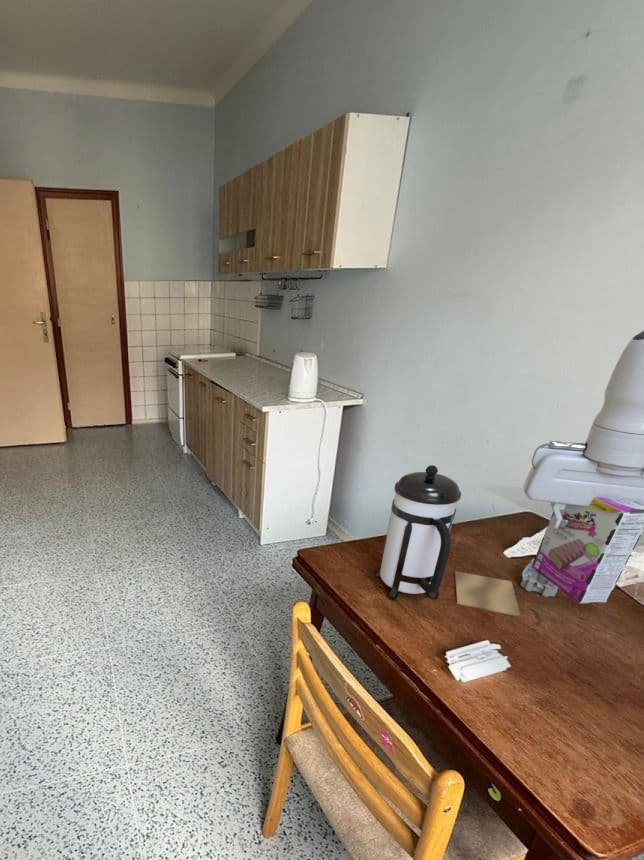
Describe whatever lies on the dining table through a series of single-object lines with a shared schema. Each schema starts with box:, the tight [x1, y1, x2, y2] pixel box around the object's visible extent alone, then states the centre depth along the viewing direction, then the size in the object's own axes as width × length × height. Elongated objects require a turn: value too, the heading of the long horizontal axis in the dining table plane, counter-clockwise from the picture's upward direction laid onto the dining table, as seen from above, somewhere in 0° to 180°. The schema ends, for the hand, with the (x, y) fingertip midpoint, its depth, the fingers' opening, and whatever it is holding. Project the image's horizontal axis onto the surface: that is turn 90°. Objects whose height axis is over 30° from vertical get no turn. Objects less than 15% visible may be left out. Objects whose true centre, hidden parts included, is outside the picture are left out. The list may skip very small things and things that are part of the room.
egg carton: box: [520, 558, 559, 598], centre depth 110 cm, size 11×8×4 cm
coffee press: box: [373, 465, 462, 601], centre depth 103 cm, size 17×16×30 cm
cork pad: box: [454, 570, 521, 618], centre depth 108 cm, size 12×14×1 cm
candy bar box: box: [531, 497, 644, 605], centre depth 75 cm, size 11×5×16 cm, turn 4°
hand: (587, 531), depth 74 cm, fingers closed on candy bar box, 6 cm apart
